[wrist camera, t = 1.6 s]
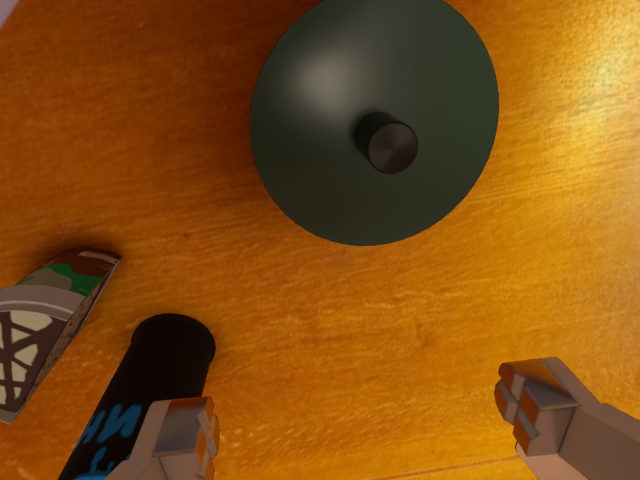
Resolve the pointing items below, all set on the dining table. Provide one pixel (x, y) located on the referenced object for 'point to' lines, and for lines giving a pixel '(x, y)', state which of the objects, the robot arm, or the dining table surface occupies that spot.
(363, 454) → the dining table surface
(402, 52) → the lid
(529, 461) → the cosmetic bottle
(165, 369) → the aerosol can
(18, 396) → the food container
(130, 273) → the dining table surface
